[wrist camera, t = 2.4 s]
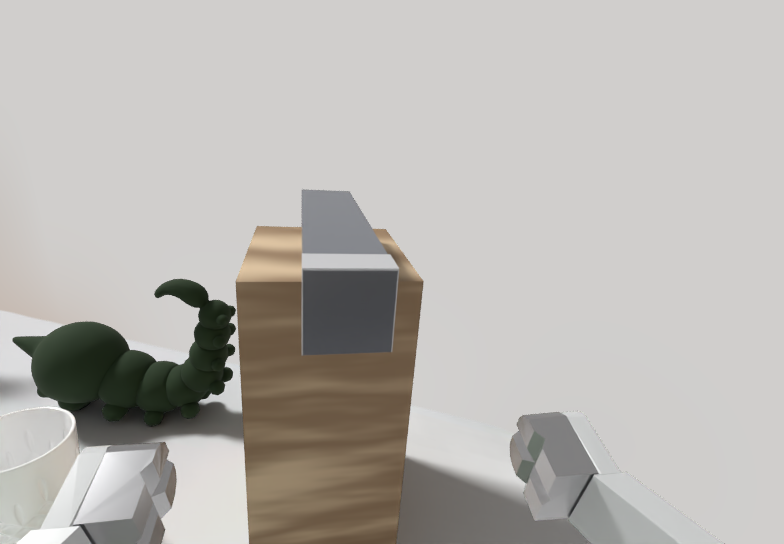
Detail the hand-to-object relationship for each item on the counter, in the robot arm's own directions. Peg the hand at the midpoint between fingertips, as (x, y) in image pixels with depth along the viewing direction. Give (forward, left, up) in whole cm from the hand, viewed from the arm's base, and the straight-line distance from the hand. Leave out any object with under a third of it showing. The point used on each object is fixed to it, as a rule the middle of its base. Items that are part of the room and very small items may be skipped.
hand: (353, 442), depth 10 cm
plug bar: (-10, +16, -3) cm, 19 cm away
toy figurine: (-41, +22, -29) cm, 55 cm away
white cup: (-34, +7, -29) cm, 45 cm away
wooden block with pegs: (-14, +21, -29) cm, 38 cm away
